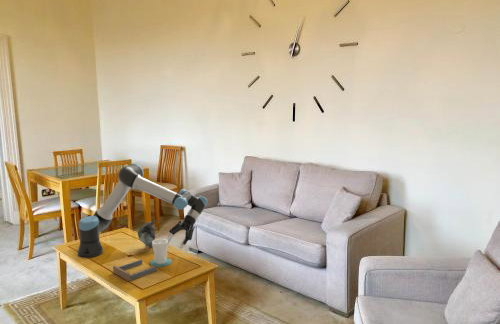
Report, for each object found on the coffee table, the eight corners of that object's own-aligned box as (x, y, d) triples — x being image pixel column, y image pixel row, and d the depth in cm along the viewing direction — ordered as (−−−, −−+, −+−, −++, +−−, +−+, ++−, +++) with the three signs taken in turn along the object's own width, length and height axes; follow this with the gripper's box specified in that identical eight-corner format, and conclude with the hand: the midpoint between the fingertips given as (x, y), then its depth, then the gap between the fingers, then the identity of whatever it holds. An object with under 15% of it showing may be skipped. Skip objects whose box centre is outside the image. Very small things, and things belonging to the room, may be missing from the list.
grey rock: (132, 248, 253) (131, 222, 250) (150, 242, 265) (149, 217, 263) (147, 253, 245) (146, 226, 242) (164, 246, 258) (164, 220, 255)
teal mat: (145, 262, 230) (145, 262, 229) (163, 256, 239) (163, 256, 239) (158, 268, 221) (158, 268, 221) (176, 262, 231) (176, 261, 231)
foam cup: (171, 259, 233) (170, 239, 232) (164, 265, 224) (163, 244, 223) (157, 258, 236) (156, 238, 234) (149, 263, 227) (149, 243, 225)
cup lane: (113, 272, 216) (113, 266, 215) (141, 263, 229) (141, 256, 228) (128, 281, 205) (127, 274, 204) (156, 270, 218) (156, 264, 218)
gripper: (207, 224, 239) (189, 253, 230) (182, 216, 256) (164, 243, 247) (201, 218, 235) (182, 247, 225) (176, 210, 251) (157, 237, 242)
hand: (173, 245), depth 236 cm, fingers open, 13 cm apart
